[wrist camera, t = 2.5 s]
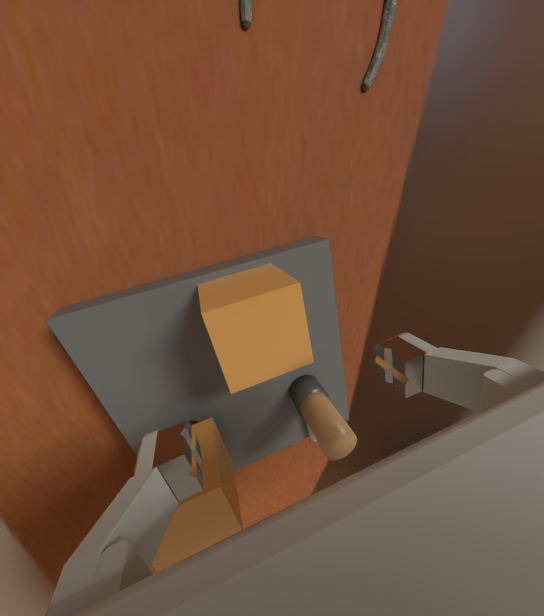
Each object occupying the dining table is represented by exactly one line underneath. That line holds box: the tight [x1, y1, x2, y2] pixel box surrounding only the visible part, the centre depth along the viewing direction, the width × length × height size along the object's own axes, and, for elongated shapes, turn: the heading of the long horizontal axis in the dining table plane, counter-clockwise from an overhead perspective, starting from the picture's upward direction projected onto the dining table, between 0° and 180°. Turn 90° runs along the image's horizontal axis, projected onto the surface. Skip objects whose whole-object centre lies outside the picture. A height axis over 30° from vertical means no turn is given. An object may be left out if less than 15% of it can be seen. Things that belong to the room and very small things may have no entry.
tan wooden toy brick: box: [198, 263, 314, 394], centre depth 15 cm, size 5×5×5 cm
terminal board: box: [46, 236, 357, 572], centre depth 17 cm, size 18×18×9 cm
